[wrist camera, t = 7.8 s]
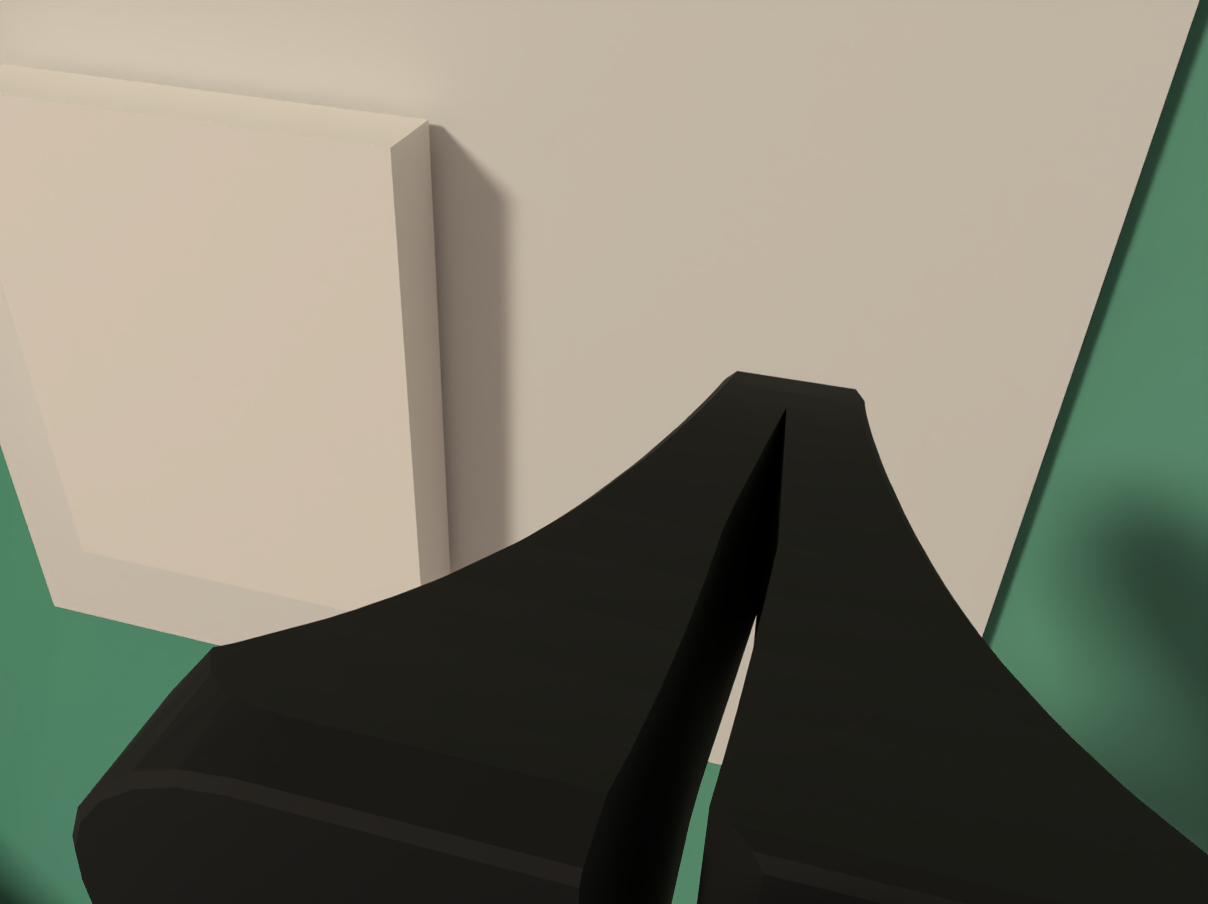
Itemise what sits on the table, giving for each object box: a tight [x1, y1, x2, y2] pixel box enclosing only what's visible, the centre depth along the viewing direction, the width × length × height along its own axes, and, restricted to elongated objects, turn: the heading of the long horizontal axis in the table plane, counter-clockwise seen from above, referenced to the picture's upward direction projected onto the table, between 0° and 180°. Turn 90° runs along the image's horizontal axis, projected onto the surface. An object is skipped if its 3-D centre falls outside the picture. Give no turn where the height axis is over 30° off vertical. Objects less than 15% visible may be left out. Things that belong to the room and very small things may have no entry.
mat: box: [0, 0, 1199, 765], centre depth 20 cm, size 22×18×1 cm
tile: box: [0, 65, 450, 611], centre depth 20 cm, size 2×10×8 cm
